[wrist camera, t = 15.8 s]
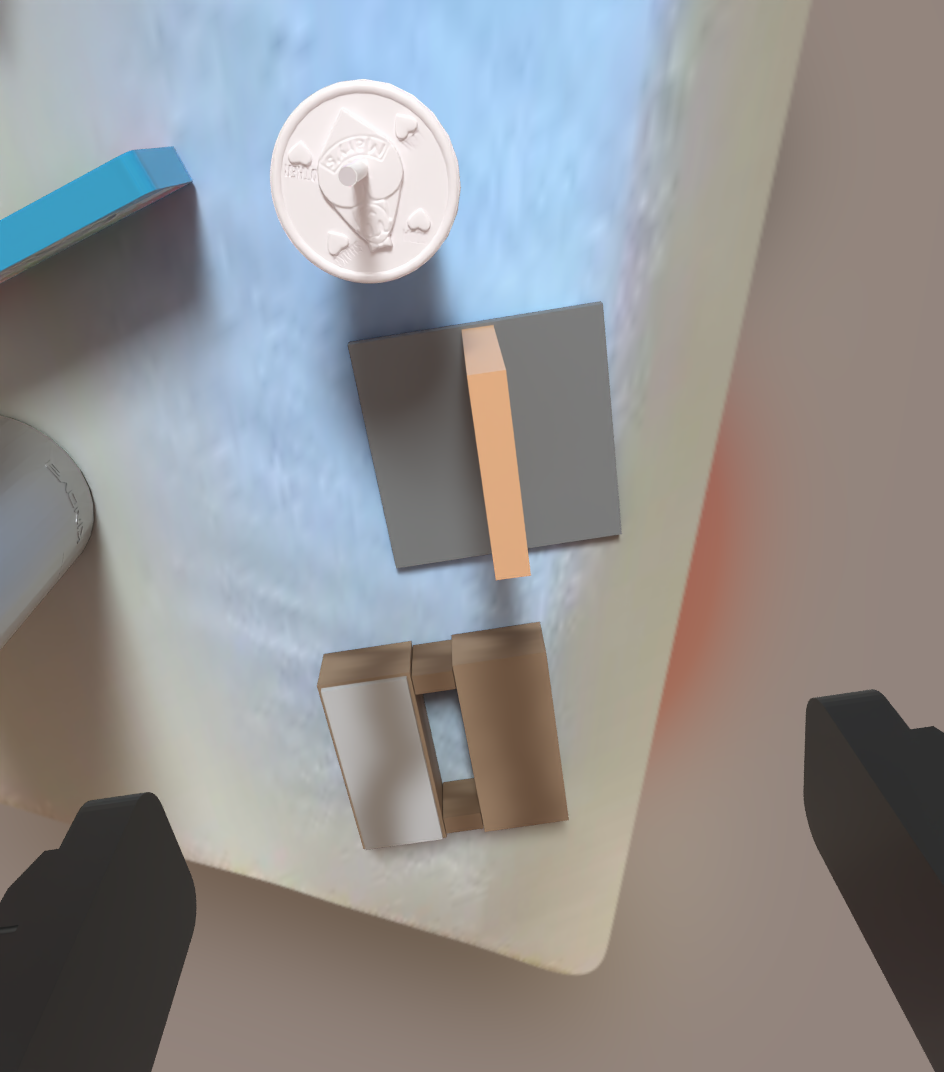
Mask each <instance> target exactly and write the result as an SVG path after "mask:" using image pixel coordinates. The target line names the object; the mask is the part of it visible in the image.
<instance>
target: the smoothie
mask: <svg viewBox="0 0 944 1072" xmlns="http://www.w3.org/2000/svg"><path fill="white" fill-rule="evenodd" d="M270 184H271V193H272V199H273V203H274V207H275V210H276V213H277V216H278V218H279V221H280V223H281V225H282V227H283V229H284V231H285V233H286V234H287V236H288V238H289V239H290V240H291V242H292V243H293V244H294V246H295V247H296V248H297V249H298V250H299V252H300V253H301V254H302V255H303V256H304V257H306V258H307V259H308V260H309V261H310V262H311V263H313V264H314V265H315V266H317V267H318V268H320V269H321V270H323V271H325V272H327V273H329V274H331V275H333V276H335V277H338V278H341V279H344V280H347V281H352V282H357V283H382V282H387V281H392V280H395V279H398V278H401V277H403V276H406V275H408V274H410V273H411V272H413V271H415V270H416V269H418V268H419V267H421V266H422V265H423V264H425V263H426V262H427V261H428V260H429V259H430V258H431V257H432V256H433V255H434V254H435V253H436V252H437V250H438V249H439V248H440V246H441V245H442V243H443V242H444V241H445V239H446V238H447V237H448V235H449V232H450V230H451V227H452V225H453V222H454V220H455V217H456V215H457V211H458V203H459V196H460V189H461V186H460V176H459V167H458V160H457V157H456V154H455V152H454V149H453V146H452V143H451V141H450V138H449V135H448V134H447V132H446V131H445V129H444V128H443V126H442V125H441V123H440V122H439V121H438V119H437V118H436V116H435V115H434V113H433V112H432V111H431V110H429V109H428V108H427V107H426V106H425V105H424V104H423V103H422V102H420V101H419V100H418V99H417V98H416V97H415V96H414V95H412V94H410V93H408V92H406V91H404V90H402V89H400V88H398V87H396V86H393V85H391V84H389V83H384V82H378V81H372V80H366V79H360V80H352V81H344V82H338V83H336V84H333V85H330V86H327V87H325V88H323V89H321V90H318V91H317V92H315V93H314V94H312V95H310V96H309V97H308V98H307V99H305V100H304V101H303V102H302V103H301V104H300V105H299V106H298V107H297V108H296V109H295V110H294V111H293V112H292V113H291V115H290V116H289V117H288V119H287V120H286V122H285V123H284V125H283V127H282V129H281V131H280V133H279V135H278V138H277V140H276V143H275V146H274V150H273V154H272V160H271V169H270Z"/></svg>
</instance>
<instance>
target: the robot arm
mask: <svg viewBox="0 0 944 1072" xmlns="http://www.w3.org/2000/svg"><path fill="white" fill-rule="evenodd" d="M93 522H94V517H93V502H92V498H91V494H90V491H89V487H88V485H87V483H86V481H85V479H84V477H83V475H82V473H81V471H80V469H79V468H78V466H77V465H76V464H75V463H74V461H73V460H72V459H71V457H70V456H69V455H68V454H67V452H65V451H64V450H63V449H62V448H61V447H60V446H59V445H58V444H57V443H55V442H54V441H53V440H52V439H51V438H49V437H48V436H46V435H45V434H43V433H42V432H40V431H38V430H37V429H35V428H34V427H32V426H29V425H27V424H25V423H22V422H20V421H17V420H15V419H13V418H8V417H4V416H0V650H1V649H2V647H3V646H4V645H5V644H6V643H7V641H8V640H9V639H10V638H11V637H12V635H13V634H14V633H15V632H16V631H17V629H18V628H19V627H20V626H21V625H22V623H23V622H24V621H25V620H26V619H27V617H28V616H29V615H30V614H31V613H32V611H33V610H34V609H35V608H36V607H37V605H38V604H39V603H40V602H41V601H42V599H43V598H44V597H45V596H46V595H47V594H48V592H49V591H50V590H51V589H52V588H53V586H54V585H55V584H56V583H57V582H58V580H59V579H60V578H61V577H62V576H63V574H64V573H65V572H66V571H67V570H68V568H69V567H70V566H71V565H72V563H73V562H74V561H75V560H76V559H77V557H78V556H79V555H80V554H81V553H82V551H83V550H84V548H85V546H86V544H87V542H88V540H89V538H90V535H91V531H92V526H93ZM804 805H805V811H806V816H807V820H808V824H809V827H810V830H811V834H812V837H813V839H814V842H815V844H816V846H817V848H818V850H819V852H820V854H821V856H822V858H823V860H824V862H825V864H826V865H827V867H828V869H829V871H830V873H831V875H832V877H833V879H834V881H835V883H836V885H837V886H838V888H839V890H840V892H841V894H842V896H843V898H844V900H845V902H846V904H847V905H848V907H849V909H850V911H851V913H852V915H853V917H854V919H855V921H856V922H857V924H858V926H859V928H860V930H861V932H862V934H863V936H864V938H865V940H866V942H867V944H868V945H869V947H870V949H871V951H872V953H873V955H874V957H875V959H876V961H877V963H878V964H879V966H880V968H881V970H882V972H883V974H884V976H885V978H886V979H887V981H888V983H889V985H890V987H891V989H892V991H893V993H894V995H895V997H896V999H897V1001H898V1002H899V1004H900V1006H901V1008H902V1010H903V1012H904V1014H905V1016H906V1018H907V1019H908V1021H909V1023H910V1025H911V1027H912V1029H913V1031H914V1033H915V1035H916V1037H917V1039H918V1040H919V1042H920V1044H921V1046H922V1048H923V1050H924V1052H925V1054H926V1055H927V1057H928V1059H929V1061H930V1063H931V1065H932V1067H933V1069H934V1071H935V1072H944V733H943V732H942V731H940V730H939V729H937V728H935V727H934V726H931V727H924V728H917V729H910V728H909V727H908V726H907V724H906V723H905V722H904V721H903V719H902V718H901V717H900V715H899V714H898V713H897V711H896V710H895V709H894V708H893V707H892V705H891V704H890V703H889V701H888V700H887V699H886V698H885V696H884V695H883V694H882V693H880V692H879V691H877V690H873V689H872V690H865V691H858V692H851V693H844V694H837V695H830V696H824V697H817V698H812V699H810V700H809V702H808V704H807V708H806V727H805V760H804ZM195 919H196V893H195V887H194V883H193V879H192V876H191V874H190V871H189V869H188V866H187V864H186V862H185V859H184V857H183V854H182V852H181V850H180V847H179V845H178V842H177V840H176V838H175V835H174V833H173V830H172V828H171V826H170V823H169V821H168V819H167V816H166V814H165V811H164V809H163V807H162V804H161V802H160V800H159V799H158V798H157V796H156V795H154V794H153V793H151V792H146V793H139V794H132V795H125V796H118V797H111V798H104V799H97V800H91V801H88V802H86V803H85V804H84V805H83V806H82V807H81V808H80V810H79V812H78V813H77V815H76V817H75V819H74V821H73V823H72V825H71V827H70V829H69V831H68V832H67V834H66V836H65V838H64V840H63V842H62V844H61V846H60V848H59V849H55V850H48V851H44V852H43V853H42V854H41V855H40V856H39V857H38V858H37V859H36V861H34V862H33V864H31V865H30V867H29V868H28V869H27V870H26V871H25V872H24V873H23V874H22V875H21V876H20V877H19V878H18V879H17V880H16V881H15V882H14V883H13V884H12V885H11V886H10V887H9V888H8V890H7V891H6V893H5V895H4V897H3V898H2V900H1V902H0V1072H151V1070H152V1067H153V1064H154V1061H155V1057H156V1054H157V1051H158V1047H159V1044H160V1041H161V1037H162V1034H163V1031H164V1028H165V1024H166V1021H167V1018H168V1014H169V1011H170V1008H171V1004H172V1001H173V998H174V995H175V991H176V987H177V985H178V981H179V978H180V974H181V971H182V968H183V965H184V961H185V958H186V955H187V952H188V948H189V945H190V942H191V938H192V935H193V931H194V926H195Z"/></svg>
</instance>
